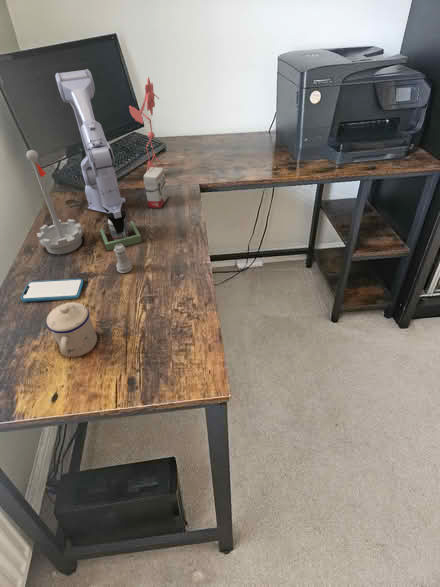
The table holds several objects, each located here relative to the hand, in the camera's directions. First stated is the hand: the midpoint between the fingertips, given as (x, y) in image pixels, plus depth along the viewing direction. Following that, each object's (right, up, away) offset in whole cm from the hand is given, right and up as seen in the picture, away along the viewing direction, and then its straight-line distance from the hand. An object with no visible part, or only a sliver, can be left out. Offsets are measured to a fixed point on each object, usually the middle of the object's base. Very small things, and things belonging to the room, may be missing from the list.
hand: (118, 227), depth 122 cm
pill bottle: (0, -3, +2) cm, 3 cm away
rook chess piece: (+5, -14, -11) cm, 18 cm away
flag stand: (-17, -5, 0) cm, 18 cm away
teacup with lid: (-1, -34, -33) cm, 47 cm away
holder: (0, -3, +2) cm, 3 cm away
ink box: (+10, +12, +19) cm, 25 cm away
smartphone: (-13, -21, -17) cm, 30 cm away
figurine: (+9, +30, +40) cm, 51 cm away
